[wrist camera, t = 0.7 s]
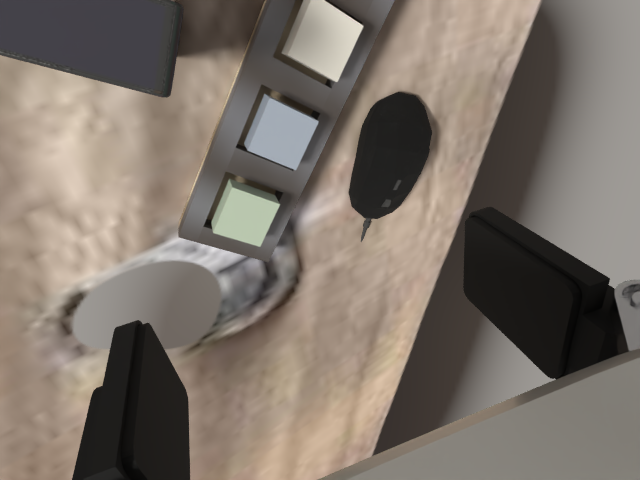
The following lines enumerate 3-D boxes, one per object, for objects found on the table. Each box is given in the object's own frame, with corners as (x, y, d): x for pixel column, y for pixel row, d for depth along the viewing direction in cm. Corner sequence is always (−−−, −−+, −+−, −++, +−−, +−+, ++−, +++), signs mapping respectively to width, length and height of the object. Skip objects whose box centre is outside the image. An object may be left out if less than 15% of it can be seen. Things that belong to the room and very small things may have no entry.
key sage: (229, 178, 31) (232, 187, 30) (275, 195, 33) (280, 204, 32) (211, 222, 33) (213, 232, 31) (256, 235, 34) (260, 246, 33)
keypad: (328, -166, 26) (342, -183, 23) (420, -85, 29) (439, -94, 27) (178, 223, 34) (178, 237, 32) (263, 248, 38) (268, 262, 36)
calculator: (183, 1, 27) (188, -18, 15) (173, 66, 29) (170, 100, 16) (-17, -71, 23) (-253, -185, 10) (-15, 11, 25) (-218, -1, 12)
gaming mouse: (331, 238, 40) (345, 258, 37) (370, 85, 34) (390, 92, 31) (386, 241, 43) (404, 260, 39) (431, 98, 37) (456, 106, 33)
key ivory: (305, -5, 27) (313, -7, 25) (352, 25, 29) (363, 26, 27) (281, 53, 28) (287, 55, 27) (328, 79, 30) (337, 82, 29)
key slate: (264, 93, 29) (269, 97, 28) (311, 116, 31) (318, 121, 29) (243, 143, 31) (247, 150, 29) (289, 162, 32) (296, 170, 31)
